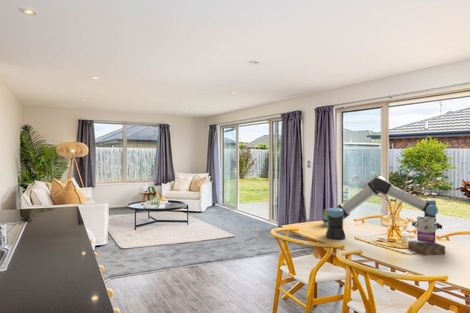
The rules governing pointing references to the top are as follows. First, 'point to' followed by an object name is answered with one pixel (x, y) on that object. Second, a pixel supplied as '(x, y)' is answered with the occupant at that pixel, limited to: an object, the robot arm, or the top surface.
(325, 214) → the tea box
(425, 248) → the walnut base
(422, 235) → the candy bar box
